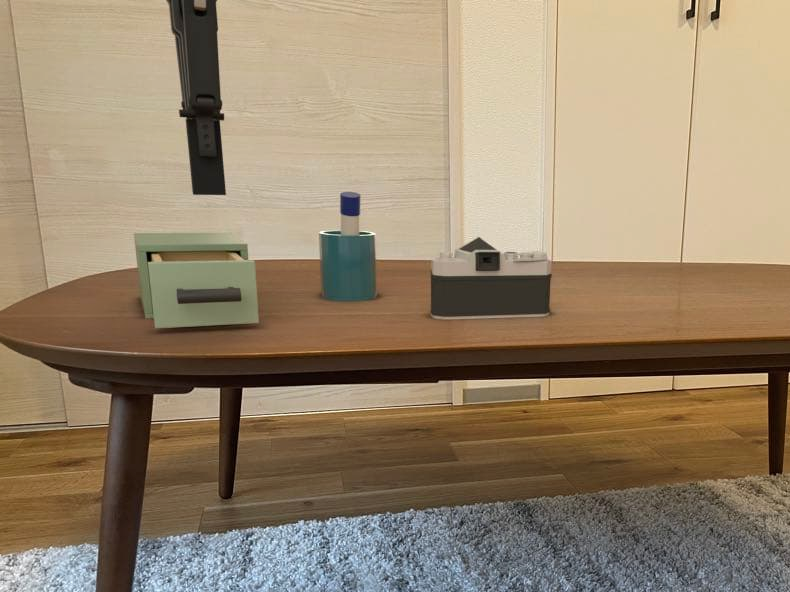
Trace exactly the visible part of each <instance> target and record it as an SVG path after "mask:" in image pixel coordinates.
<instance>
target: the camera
mask: <svg viewBox="0 0 790 592" xmlns="http://www.w3.org/2000/svg"><path fill="white" fill-rule="evenodd" d="M552 264H553V262H552V259H549V258H548V253H547V251H543V250H532V251H528V252H516V251H504V252H501V251H499V250H498V249H497V248H496V247H494V246H492V245H491V244H489V243H488V242H486V241H485V240H484V239H483V238H482V237H480V236H477V237H475V238H473V239H472V240H470V241H468V242H467V243H464V244H463V245H461V246H459V247H458V248H456V249H455V250H454V254H453V252H452V251H439V257H438V256H437V257H435V258H431V259H430V317H432V318H433V319H436V320H437V319H438V320H471V319H473V320H474V319H476V320H477V319H504V318H507V319H508V318H535V317H537V318H538V317H540V318H541V317H547V316H549V315H550V312H551V308H550V306H551V305H550V304H551V302H550V301H551V281H552V277H553V274H552Z"/></svg>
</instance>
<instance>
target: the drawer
mask: <svg viewBox="0 0 790 592" xmlns="http://www.w3.org/2000/svg"><path fill="white" fill-rule="evenodd" d="M150 255H151V262H148V270H149V279H150V288H151V298H152V307H153V316H154V318H153V323H154V324H153V326H154V329H173V328H192V327H209V326H210V327H211V326H212V327H213V326H227V325H228V326H229V325H230V326H231V325H248V324H249V325H250V324H251V325H252V324H259V323H260V316H259V315H260V314H259V301H258V285H257V283H258V282H257V269H256V261H255V260H254V259H248V260H244V259H242V258H241V257H240V256H239V255H238V254H236V253H235V252H234V251H166V252H150Z"/></svg>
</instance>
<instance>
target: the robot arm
mask: <svg viewBox="0 0 790 592" xmlns="http://www.w3.org/2000/svg"><path fill="white" fill-rule="evenodd" d="M165 1H166V3H167V5H168V9H169V19H170V28H171V29H170V30H171V33H172V34H173V36H174V42H175V50H176V59H177V67H178V74H179V77H178V78H179V85H180V93H181V94H180V95H181V102H180V103H181V108H182V109H179V110H178V115H179V118H186V119H185V130H186V140H187V147H188V158H189V169H190V179H191V190H192V195H194V196H227V190H226V179H225V168H224V167H225V166H224V154H223V144H222V142H223V141H222V131H221V121H225V113H224V112H223V113H222V112H221V111H222V109H223V100H222V98H221V78H220V77H221V76H220V63H219V62H220V60H219V43H218V42H219V41H218V31H219V23H218V14H217V13H218V12H217V10H218V9H217V1H218V0H165Z"/></svg>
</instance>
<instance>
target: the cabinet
mask: <svg viewBox="0 0 790 592" xmlns="http://www.w3.org/2000/svg"><path fill="white" fill-rule="evenodd" d="M133 238H134V247H135V257H136V265H137V266H136V267H137V274H138V283H139V293H140V300H141V305H142V310H143V313H144V317H145V319H154V316H153V307H152V298H151V288H150V279H149V270H148V262H151V255H150V252H166V251H234V252H235V253H236V254H238V255H239V256H240V257H241V258H242V259H244V260H249V251H248V250H249V249H248V248H249V247H248V243H246V242H245V241H243V240H242V239H241V238H239V237H238V236H237V235H235V234H234V233H232V232H133Z"/></svg>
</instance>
